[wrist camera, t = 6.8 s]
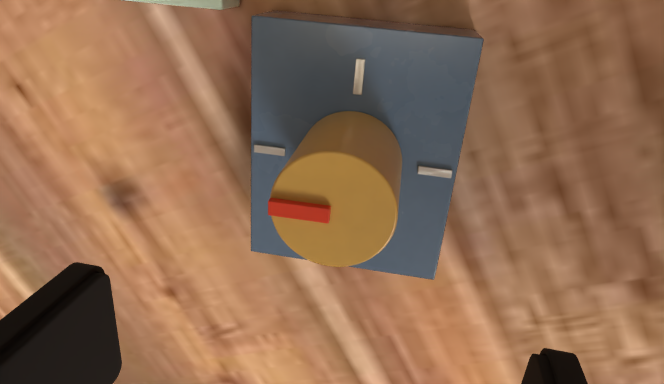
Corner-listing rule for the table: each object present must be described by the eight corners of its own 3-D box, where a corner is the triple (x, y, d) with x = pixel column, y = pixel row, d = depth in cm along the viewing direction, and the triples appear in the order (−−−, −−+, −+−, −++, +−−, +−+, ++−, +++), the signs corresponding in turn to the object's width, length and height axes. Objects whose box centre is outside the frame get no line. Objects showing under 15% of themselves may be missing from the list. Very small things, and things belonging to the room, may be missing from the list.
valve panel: (432, 247, 25) (434, 282, 22) (267, 222, 26) (249, 253, 23) (475, 29, 20) (484, 38, 17) (272, 10, 21) (249, 15, 18)
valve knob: (408, 116, 19) (406, 163, 14) (395, 212, 21) (388, 281, 16) (303, 104, 20) (267, 146, 15) (299, 199, 22) (266, 262, 17)
